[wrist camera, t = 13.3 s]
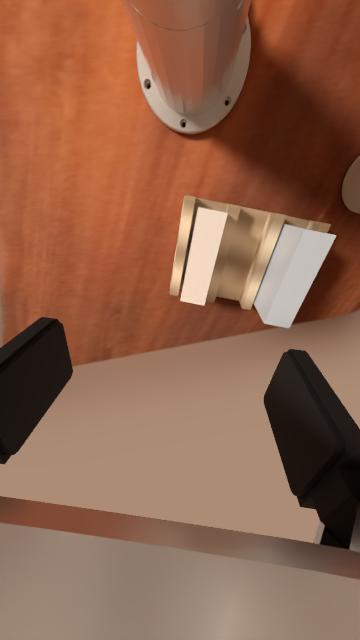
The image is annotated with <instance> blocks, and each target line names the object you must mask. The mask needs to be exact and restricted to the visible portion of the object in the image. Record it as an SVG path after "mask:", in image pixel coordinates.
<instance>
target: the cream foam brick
mask: <svg viewBox="0 0 360 640" xmlns="http://www.w3.org/2000/svg"><path fill="white" fill-rule="evenodd" d="M227 215H228V213H226V212H223V211H219V210H214V209H209V208H204V207H199V206H198V211H197V216H196V221H195V226H194V231H193V237H192V242H191V247H190V252H189V258H188V263H187V268H186V273H185V279H184V284H183V289H182V294H181V300H180V301H184V302H189V303H194V304H199V305H205V301H206V297H207V293H208V289H209V285H210V281H211V277H212V273H213V269H214V265H215V262H216V258H217V254H218V250H219V246H220V242H221V238H222V234H223V230H224V226H225V222H226V219H227Z"/></svg>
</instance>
